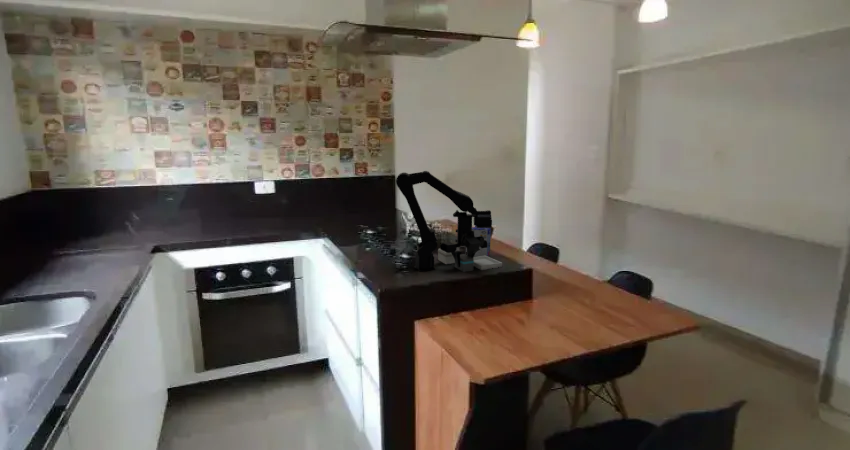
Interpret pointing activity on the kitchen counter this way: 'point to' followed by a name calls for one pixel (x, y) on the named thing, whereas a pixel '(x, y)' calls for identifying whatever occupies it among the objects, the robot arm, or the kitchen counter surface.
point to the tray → (486, 263)
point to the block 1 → (445, 257)
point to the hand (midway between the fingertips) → (463, 266)
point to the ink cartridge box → (487, 236)
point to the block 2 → (465, 263)
